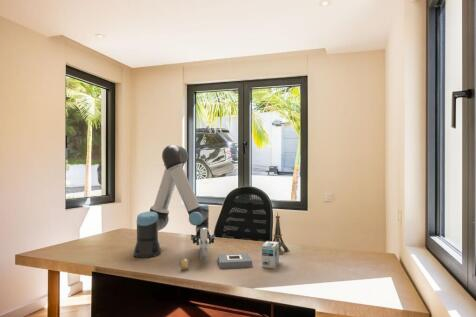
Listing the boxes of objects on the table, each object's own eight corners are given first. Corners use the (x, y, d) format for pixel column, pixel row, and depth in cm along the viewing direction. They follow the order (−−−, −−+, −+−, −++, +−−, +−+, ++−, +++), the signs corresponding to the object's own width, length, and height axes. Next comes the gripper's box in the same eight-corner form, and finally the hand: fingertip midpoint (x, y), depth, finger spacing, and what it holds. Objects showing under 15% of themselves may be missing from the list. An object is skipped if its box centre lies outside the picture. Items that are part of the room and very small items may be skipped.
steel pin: (200, 260, 162) (200, 229, 162) (199, 258, 166) (200, 227, 166) (207, 260, 163) (207, 229, 163) (206, 258, 166) (207, 227, 166)
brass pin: (181, 271, 152) (180, 260, 152) (181, 268, 155) (181, 258, 156) (188, 270, 152) (188, 260, 152) (188, 268, 156) (188, 258, 156)
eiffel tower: (281, 255, 178) (281, 210, 178) (265, 252, 184) (265, 209, 184) (290, 251, 186) (290, 208, 187) (274, 248, 192) (274, 207, 193)
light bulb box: (275, 268, 155) (274, 246, 155) (261, 267, 157) (261, 245, 157) (279, 262, 165) (279, 241, 165) (266, 261, 167) (266, 240, 167)
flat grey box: (220, 268, 155) (219, 262, 155) (217, 260, 169) (217, 254, 169) (252, 267, 157) (252, 260, 158) (247, 258, 171) (247, 252, 171)
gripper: (217, 240, 183) (220, 251, 160) (187, 241, 181) (187, 252, 158) (217, 227, 183) (220, 236, 160) (188, 227, 181) (187, 237, 158)
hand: (204, 244), depth 159 cm, fingers closed on steel pin, 3 cm apart
